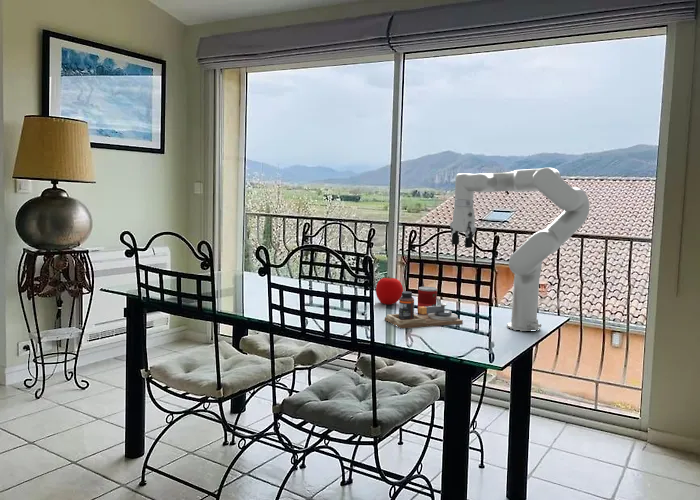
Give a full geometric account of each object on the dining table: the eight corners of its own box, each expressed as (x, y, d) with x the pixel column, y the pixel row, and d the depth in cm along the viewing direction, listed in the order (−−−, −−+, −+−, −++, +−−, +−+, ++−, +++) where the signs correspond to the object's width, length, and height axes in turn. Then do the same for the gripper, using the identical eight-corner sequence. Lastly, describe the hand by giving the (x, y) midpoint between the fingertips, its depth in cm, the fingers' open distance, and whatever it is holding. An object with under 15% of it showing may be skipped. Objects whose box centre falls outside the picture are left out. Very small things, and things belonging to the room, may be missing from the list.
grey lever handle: (444, 311, 264) (445, 301, 263) (455, 315, 258) (455, 305, 257) (414, 314, 257) (415, 304, 256) (424, 318, 251) (425, 307, 250)
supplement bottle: (410, 318, 256) (412, 290, 255) (415, 321, 250) (416, 293, 249) (396, 318, 255) (397, 290, 253) (401, 322, 249) (402, 293, 248)
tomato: (371, 304, 285) (372, 277, 284) (380, 300, 296) (381, 273, 295) (397, 307, 281) (398, 279, 279) (405, 302, 291) (406, 275, 290)
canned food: (435, 316, 267) (436, 290, 265) (416, 314, 268) (417, 289, 267) (436, 312, 274) (437, 287, 273) (418, 310, 276) (419, 285, 274)
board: (464, 323, 255) (465, 316, 255) (400, 328, 244) (400, 321, 244) (446, 315, 268) (446, 309, 268) (384, 320, 257) (384, 313, 256)
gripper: (484, 205, 251) (481, 248, 253) (459, 202, 267) (457, 243, 269) (468, 205, 248) (465, 248, 250) (444, 202, 264) (442, 243, 266)
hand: (461, 245), depth 260 cm, fingers open, 9 cm apart
